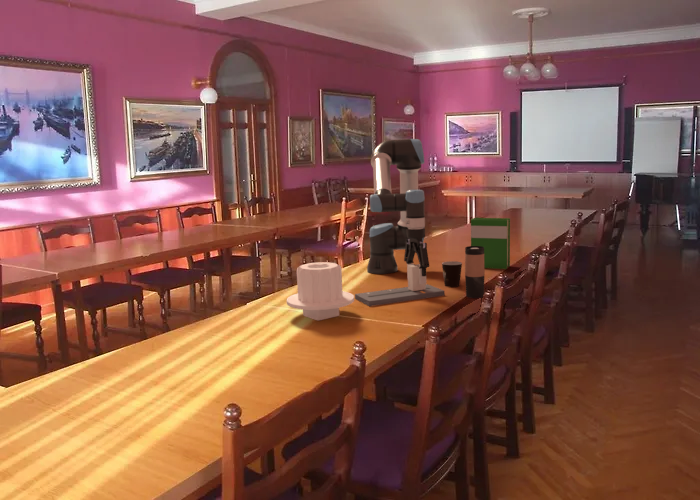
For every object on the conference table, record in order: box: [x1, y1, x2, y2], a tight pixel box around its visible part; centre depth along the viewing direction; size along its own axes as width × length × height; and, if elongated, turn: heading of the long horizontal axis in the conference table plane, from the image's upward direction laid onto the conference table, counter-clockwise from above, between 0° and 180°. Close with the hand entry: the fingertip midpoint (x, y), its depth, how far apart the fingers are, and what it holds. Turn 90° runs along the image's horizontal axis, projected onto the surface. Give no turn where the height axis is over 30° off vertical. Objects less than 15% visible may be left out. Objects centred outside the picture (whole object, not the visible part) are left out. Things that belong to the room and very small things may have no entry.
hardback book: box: [470, 217, 511, 270], centre depth 307 cm, size 18×7×24 cm, turn 65°
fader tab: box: [407, 263, 426, 291], centre depth 256 cm, size 4×6×10 cm
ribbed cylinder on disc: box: [286, 261, 355, 322], centre depth 230 cm, size 25×25×19 cm
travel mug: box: [464, 245, 485, 299], centre depth 250 cm, size 8×8×20 cm
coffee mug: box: [441, 260, 463, 288], centre depth 272 cm, size 12×9×10 cm
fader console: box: [354, 283, 445, 307], centre depth 254 cm, size 14×34×2 cm, turn 113°
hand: (416, 281), depth 257 cm, fingers open, 10 cm apart
